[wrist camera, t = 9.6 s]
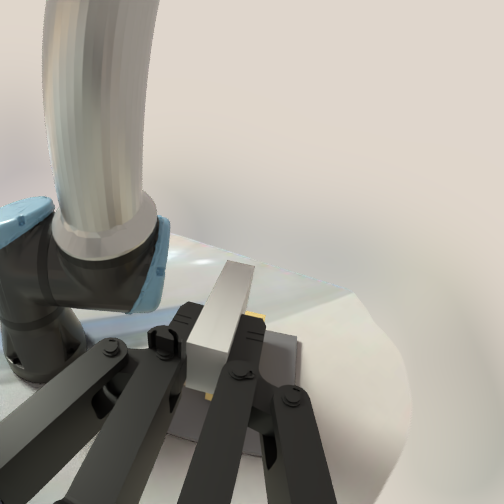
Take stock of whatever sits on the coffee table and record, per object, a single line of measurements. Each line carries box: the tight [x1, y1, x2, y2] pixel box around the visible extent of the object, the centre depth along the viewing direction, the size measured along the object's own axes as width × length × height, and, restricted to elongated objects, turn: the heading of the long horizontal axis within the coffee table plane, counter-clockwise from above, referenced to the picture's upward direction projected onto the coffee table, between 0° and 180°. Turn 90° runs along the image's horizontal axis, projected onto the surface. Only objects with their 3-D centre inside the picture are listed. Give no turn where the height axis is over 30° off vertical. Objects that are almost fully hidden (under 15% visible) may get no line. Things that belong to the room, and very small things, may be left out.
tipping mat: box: [167, 330, 297, 456], centre depth 39 cm, size 24×18×2 cm
